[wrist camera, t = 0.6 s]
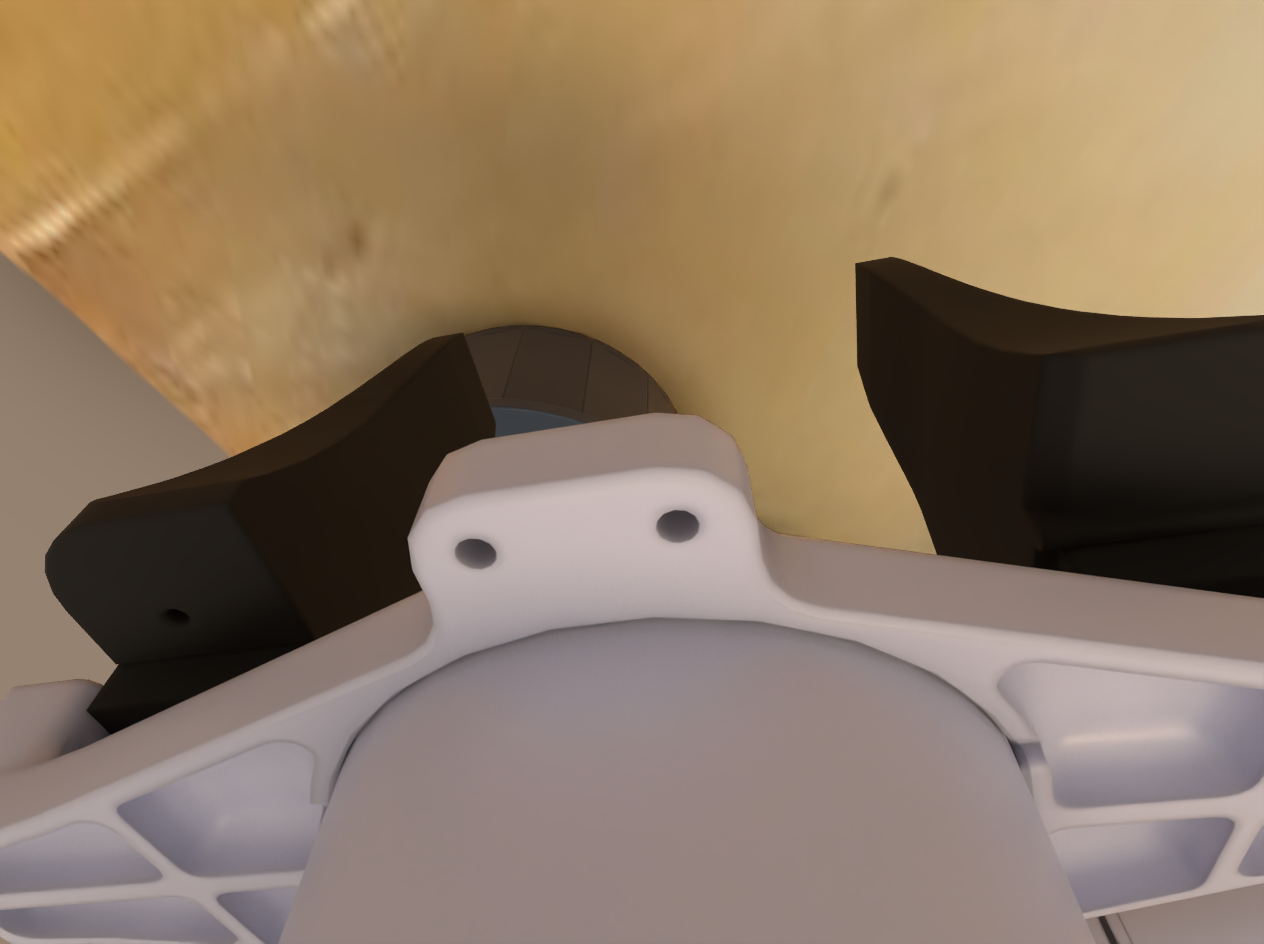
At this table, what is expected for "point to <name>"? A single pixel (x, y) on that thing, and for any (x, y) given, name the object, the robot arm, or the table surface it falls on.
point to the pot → (564, 372)
